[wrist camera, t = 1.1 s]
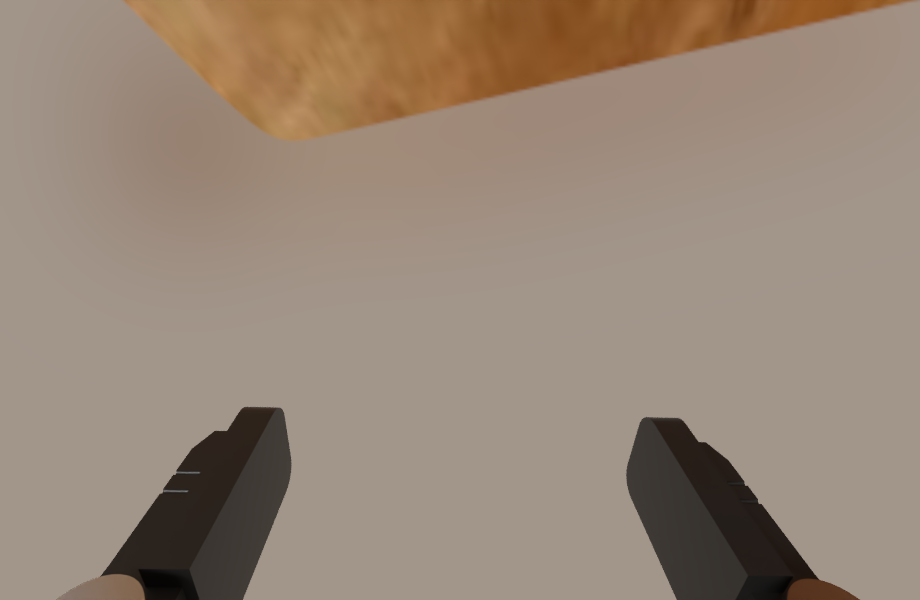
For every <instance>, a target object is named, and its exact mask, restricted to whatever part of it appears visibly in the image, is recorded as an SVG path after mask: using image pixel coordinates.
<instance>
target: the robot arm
mask: <svg viewBox="0 0 920 600" xmlns="http://www.w3.org/2000/svg"><path fill="white" fill-rule="evenodd" d="M290 473H291V456H290V449H289V442H288V436H287V429H286V423H285V417H284V412H283V410H282V409H281V408H271V407H244V408H242V409H241V411H240V412H239V413H238V415H237V416H236V418H235V420H234V421H233V423H232V424H231V426H230V427H229V429H228V430H227V431H214V432H213V433H212V434H210V435H209V436H208V437H207V438H205V439H204V440H203V441H201V442H200V443H199V444H198V445H196V446H195V447H194V448H192V450H191V451H190V452H189V454H188V455H187V456H186V458H185V459H184V461H183V462H182V463H181V465H180V466H179V468H178V469H177V473H176V475H173V476H172V478H171V479H170V480H169V482H168V483H167V485H166V486H165V487H164V489H163V493H162V494H159V496H158V497H157V499H156V500H155V501H154V503H153V504H152V506H151V507H150V508H149V510H148V511H147V513H146V514H145V515H144V517H143V518H142V520H141V521H140V522H139V524H138V526H137V527H136V528H135V530H134V531H133V532H132V534H131V535H130V537H129V538H128V539H127V541H126V542H125V544H124V545H123V547H122V548H121V549H120V551H119V552H118V553H117V555H116V556H115V558H114V559H113V561H112V562H111V563H110V565H109V566H108V567H107V569H106V570H105V571H104V572H103V574H102V575H101V576H100V577H98V578H95V579H92V580H90V581H87V582H84V583H82V584H80V585H78V586H76V587H75V588H73V589H71V590H69V591H68V592H66V593H65V594H63V595H62V596H61V597H59V598H58V599H57V600H243V597H244V595H245V592H246V590H247V587H248V585H249V582H250V580H251V578H252V575H253V573H254V570H255V568H256V565H257V563H258V560H259V558H260V555H261V553H262V550H263V548H264V545H265V543H266V540H267V538H268V535H269V533H270V530H271V528H272V525H273V523H274V520H275V518H276V515H277V513H278V510H279V508H280V505H281V503H282V500H283V498H284V495H285V493H286V490H287V488H288V484H289V480H290ZM626 476H627V486H628V490H629V493H630V496H631V499H632V501H633V503H634V505H635V508H636V510H637V512H638V514H639V516H640V519H641V521H642V523H643V525H644V527H645V530H646V532H647V534H648V536H649V539H650V541H651V543H652V545H653V548H654V550H655V552H656V554H657V556H658V558H659V561H660V563H661V565H662V568H663V570H664V572H665V574H666V576H667V579H668V581H669V583H670V585H671V588H672V590H673V592H674V594H675V596H676V599H677V600H859V599H858V598H856V597H855V596H853V595H852V594H850V593H849V592H847V591H845V590H843V589H842V588H840V587H837V586H835V585H833V584H831V583H828V582H825V581H821V580H819V579H818V578H817V577H816V575H815V574H814V573H813V571H812V570H811V569H810V568H809V566H808V565H807V564H806V562H805V561H804V560H803V558H802V557H801V556H800V555H799V553H798V552H797V550H796V549H795V548H794V546H793V545H792V544H791V542H790V541H789V540H788V538H787V537H786V536H785V534H784V533H783V532H782V531H781V529H780V528H779V527H778V525H777V524H776V523H775V521H774V520H773V519H772V518H771V516H770V515H769V513H768V512H767V511H766V509H765V508H764V507H763V505H762V504H759V503H758V499H757V498H756V496H755V495H754V494H753V493H752V491H751V490H750V488H749V487H748V486H745V484H744V480H743V479H742V478H741V476H740V475H739V474H738V473H737V471H736V470H735V469H734V467H733V466H732V465H731V463H730V462H729V461H728V460H727V459H726V458H725V457H723V456H722V455H721V454H720V453H718V452H717V451H716V450H714V449H713V448H712V447H711V446H710V445H708V444H707V443H705V442H698V441H697V439H696V438H695V436H694V435H693V434H692V432H691V431H690V429H689V428H688V427H687V425H686V424H685V423H684V421H682V420H681V419H679V418H653V417H646V418H643V419H642V421H641V422H640V425H639V428H638V431H637V435H636V438H635V441H634V445H633V448H632V452H631V455H630V459H629V462H628V466H627V475H626Z"/></svg>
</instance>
